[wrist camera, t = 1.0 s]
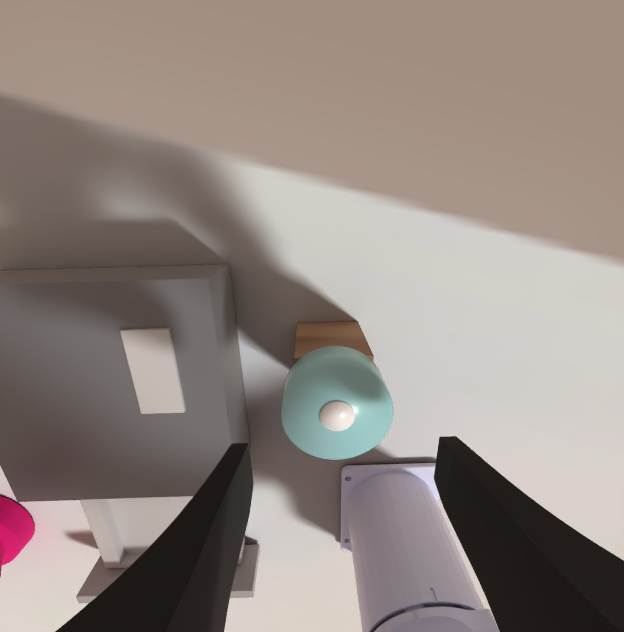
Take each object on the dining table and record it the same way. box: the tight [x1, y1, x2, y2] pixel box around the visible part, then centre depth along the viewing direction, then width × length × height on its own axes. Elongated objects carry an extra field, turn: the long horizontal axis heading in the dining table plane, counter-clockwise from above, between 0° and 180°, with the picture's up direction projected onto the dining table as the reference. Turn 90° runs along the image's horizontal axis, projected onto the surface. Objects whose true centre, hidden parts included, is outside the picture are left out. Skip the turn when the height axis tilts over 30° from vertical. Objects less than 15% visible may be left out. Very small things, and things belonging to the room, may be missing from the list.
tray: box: [76, 496, 260, 603], centre depth 23 cm, size 14×14×3 cm
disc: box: [281, 346, 394, 460], centre depth 15 cm, size 5×5×2 cm
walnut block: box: [294, 321, 373, 364], centre depth 18 cm, size 4×4×5 cm
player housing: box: [0, 264, 250, 502], centre depth 19 cm, size 14×14×4 cm
